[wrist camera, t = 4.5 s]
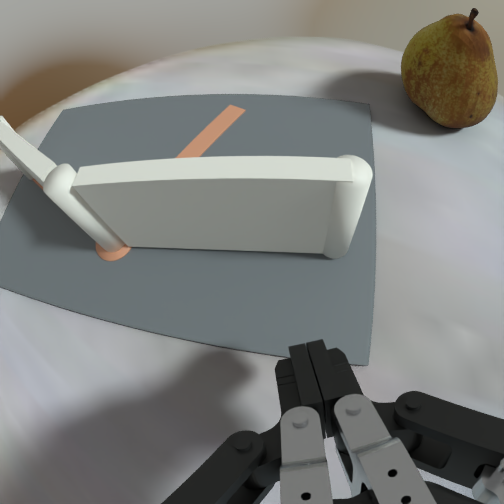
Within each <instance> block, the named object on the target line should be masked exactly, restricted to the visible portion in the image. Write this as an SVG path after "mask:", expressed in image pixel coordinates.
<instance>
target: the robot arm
mask: <svg viewBox="0 0 504 504" xmlns="http://www.w3.org/2000/svg"><path fill="white" fill-rule="evenodd" d="M288 348H289V354H290V358H288V359H283V360H278V363H277V365H276V367H275V374H276V380H277V386H278V393H279V400H280V406H281V418H280V420H279V422H278V423H277V425H275V426H274V427H273V428H272V429H270V430H268V431H266V432H263V433H261V434H258V433H256V432H253V431H239V432H236V433H234V434H232V435H231V436H230V437H229V438H227V440H226V441H225V442H224V443H223V444H222V445H221V446H220V447H219V448H218V449H217V450H216V451H215V452H214V453H213V454H212V455H211V456H210V457H209V458H208V459H207V460H206V461H205V462H204V463H203V464H202V465H201V466H200V467H199V468H198V469H197V470H196V471H195V472H194V473H193V474H192V475H191V476H190V477H189V478H188V479H187V480H186V481H185V482H184V483H183V484H182V485H181V486H180V487H179V488H178V489H177V490H176V491H174V492H173V493H172V494H171V495H170V496H169V497H168V498H167V499H166V500H165V501H164V502H163V503H161V504H260V502H261V501H262V500H263V499H264V498H265V496H266V495H267V494H268V493H269V491H270V490H271V489H272V488H273V486H274V484H275V482H277V481H280V494H281V504H504V419H501V418H497V417H494V416H491V415H487V414H484V413H481V412H478V411H475V410H472V409H469V408H466V407H463V406H460V405H457V404H454V403H451V402H448V401H445V400H442V399H439V398H436V397H433V396H430V395H428V394H425V393H422V392H418V391H410V392H406V393H404V394H402V395H401V396H399V397H398V398H397V400H396V402H391V403H378V402H373V401H371V400H370V399H369V398H367V397H366V396H364V395H363V393H362V391H361V388H360V386H359V384H358V382H357V379H356V377H355V375H354V373H353V371H352V369H351V366H350V364H349V362H348V360H347V357H346V355H345V353H343V352H342V351H341V350H340V349H338V348H337V347H336V348H332V349H328V350H327V349H326V346H325V343H324V341H323V339H320V340H316V341H311V342H307V343H306V345H305V343H302V344H298V345H293V346H288ZM325 431H326V434H327V438H329V437H333V436H334V440H335V443H336V453H337V455H338V458H339V460H340V463H341V466H342V468H343V471H344V473H345V476H346V478H347V481H348V483H349V486H350V490H351V495H352V498H349V499H332V493H331V485H330V478H329V471H328V465H327V460H326V456H325V449H324V439H325V438H326V434H325ZM416 467H417V468H419V469H422V470H424V471H426V472H429V473H431V474H434V475H436V476H439V477H441V478H444V479H446V480H449V481H452V482H454V483H457V484H460V485H462V486H465V487H468V488H471V489H472V494H473V497H474V498H475V500H474V499H472V498H469V497H467V496H464V495H462V494H459V493H457V492H455V491H452V490H450V489H448V488H445V487H443V486H441V485H438V484H436V483H433V482H429V481H424V480H423V478H422V476H421V475H420V473H419V471H418V469H417V468H416Z"/></svg>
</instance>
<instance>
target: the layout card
mask: <svg viewBox="0 0 504 504" xmlns="http://www.w3.org/2000/svg"><path fill="white" fill-rule="evenodd" d="M38 150H39V151H40V152H41V153H43V154H44V155H45V156H46V157H48V158H49V159H50V160H52V161H53V162H54V163H55V164H56V165H57V166H58V165H61V164H65V163H66V164H69V165H70V166H71V167H72V168H73V169H74V170H75V172H76V173H78V171H79V168H80V167H83V166H92V165H101V164H110V163H120V162H131V161H143V160H157V159H172V158H191V157H219V156H301V157H328V158H337V157H339V156H343V155H354V156H357V157H360V158H362V159H363V160H365V161H366V162H367V163H368V164H369V166H370V167H371V169H372V173H373V176H372V180H371V183H370V187H369V190H368V193H367V196H366V199H365V202H364V205H363V208H362V211H361V214H360V217H359V220H358V223H357V226H356V229H355V232H354V235H353V237H352V240H351V243H350V246H349V249H348V251H347V253H346V254H345V255H344V256H343V257H341V258H337V259H332V258H329V257H326V256H325V255H324V254H322V253H295V252H267V251H240V250H212V249H184V248H156V247H128V246H127V245H126V244H125V245H124V246H123V247H122V248H121V249H120V250H118V251H116V252H113V253H111V252H107V251H106V250H105V249H103V248H102V247H101V246H100V245H99V244H98V243H97V242H96V241H95V240H94V239H92V238H91V237H90V236H89V235H88V234H87V233H86V232H85V231H84V230H83V229H82V228H81V227H79V226H78V225H77V224H76V223H75V222H74V221H73V220H72V219H71V218H70V217H69V216H68V215H67V214H66V213H65V212H64V211H63V210H62V209H61V208H60V207H59V206H58V205H57V204H56V203H54V202H53V201H52V200H51V199H50V198H49V197H48V196H47V195H46V194H45V192H44V191H43V186H41V185H40V184H39V183H38V182H37V181H36V180H35V179H32V180H29V179H28V178H27V177H26V176H25V175H24V174H23V176H22V178H21V180H20V182H19V184H18V186H17V188H16V190H15V192H14V194H13V196H12V198H11V200H10V202H9V204H8V206H7V208H6V210H5V213H4V215H3V217H2V219H1V221H0V287H2V288H4V289H7V290H10V291H13V292H15V293H18V294H21V295H24V296H27V297H30V298H33V299H36V300H39V301H42V302H45V303H48V304H51V305H54V306H57V307H61V308H64V309H67V310H70V311H74V312H77V313H80V314H84V315H87V316H91V317H94V318H98V319H102V320H105V321H109V322H113V323H116V324H120V325H124V326H128V327H132V328H136V329H140V330H144V331H149V332H153V333H157V334H161V335H166V336H170V337H175V338H180V339H184V340H189V341H194V342H199V343H204V344H209V345H214V346H220V347H225V348H231V349H236V350H242V351H248V352H254V353H261V354H267V355H274V356H281V357H288V358H290V354H289V348H288V346H293V345H298V344H302V343H305V345H306V343H307V342H311V341H316V340H320V339H323V341H324V343H325V346H326V349H327V350H328V349H332V348H336V347H337V348H338V349H340V350H341V351H342V352H343V353H345V355H346V357H347V360H348V362H349V364H350V365H361V366H368V363H369V354H370V345H371V334H372V322H373V308H374V291H375V268H376V192H375V168H374V151H373V138H372V126H371V116H370V106H369V104H364V103H357V102H350V101H341V100H332V99H323V98H312V97H299V96H282V95H257V94H208V95H183V96H166V97H154V98H143V99H133V100H124V101H116V102H109V103H102V104H95V105H89V106H83V107H77V108H71V109H66V110H63V111H62V112H61V114H60V115H59V117H58V118H57V120H56V121H55V123H54V124H53V126H52V127H51V129H50V130H49V132H48V133H47V135H46V137H45V138H44V140H43V141H42V143H41V145H40V146H39V148H38Z"/></svg>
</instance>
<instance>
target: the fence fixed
mask: <svg viewBox="0 0 504 504" xmlns="http://www.w3.org/2000/svg"><path fill="white" fill-rule="evenodd" d="M0 149H1V150H2V151H3V152H4V153H5V154H6V155H7V156H8V158H9V159H10V160H11V161H12V162H13V163H14V164H15V165H16V166H17V167H18V168H19V169H20V170H21V171H22V172H23V174H24V175H25V176H26V177H27V178H28V179H29V180H32V179H35V180H36V181H37V182H38V183H39V184H40V185H41V186H43V191H44V192H45V194H46V195H47V196H48V197H49V198H50V199H51V200H52V201H53V202H54V203H56V204H57V205H58V206H59V207H60V208H61V209H62V210H63V211H64V212H65V213H66V214H67V215H68V216H69V217H70V218H71V219H72V220H73V221H74V222H75V223H76V224H77V225H78V226H79V227H81V228H82V229H83V230H84V231H85V232H86V233H87V234H88V235H89V236H90V237H91V238H92V239H94V240H95V241H96V242H97V243H98V244H99V245H100V246H101V247H102V248H103V249H105V250H106V251H107V252H111V253H113V252H116V251H118V250H120V249H121V248H122V247H123V246H124V245H125V243H124V242H123V240H122V239H121V238H120V237H119V236H118V235H117V234H116V233H115V232H114V231H113V230H112V229H111V228H110V227H109V226H108V225H107V224H106V223H105V222H104V221H103V220H102V219H101V217H100V216H99V215H98V214H97V213H96V212H95V211H94V210H93V209H92V208H91V207H90V206H89V204H88V203H87V202H86V201H85V200H84V199H83V198H82V197H81V196H80V195H79V193H78V192H77V191H76V190H75V189H74V188H73V187H72V185H73V182H74V180H75V178H76V175H77V173H76V172H75V170H74V169H73V168H72V167H71V166H70V165H69V164H66V163H65V164H61V165H58V166H57V165H56V164H55V163H54V162H53V161H52V160H50V159H49V158H48V157H46V156H45V155H44V154H43V153H41V152H40V151H39V150H37V149H36V148H35V147H33V146H32V145H31V144H30V143H28V142H27V141H26V140H24V139H23V138H22V137H21V136H19V135H18V134H17V133H16V132H15V131H14V130H13V129H12V128H11V126H10V125H9V124H8V123H7V121H6V120H5V119H4V118H3V117H2V116H0Z"/></svg>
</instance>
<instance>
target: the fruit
mask: <svg viewBox="0 0 504 504" xmlns="http://www.w3.org/2000/svg"><path fill="white" fill-rule="evenodd" d="M477 15H478V10H477V9H475V8H473V9H472V10H471V13H470V16H469V17H467V16H464V15H462V14H454V15H449V16H446V17H444V18H443V19H441V20H439V21H437V22H435V23H432V24H430V25H428V26H426V27H424V28H423V29H421V30H420V31H419V32H418V33H416V34H415V35H414V36H413V38H412V39H411V40H410V42H409V44H408V45H407V47H406V49H405V51H404V54H403V56H402V62H401V75H402V81H403V84H404V88H405V91H406V93H407V95H408V96H409V98H410V99H411V101H412V102H413V103H414V104H416V105H417V106H418V107H420V108H421V109H422V110H424V111H425V112H426V113H427V115H428V116H429V117H430V118H431V119H433V120H434V121H436V122H437V123H439V124H440V125H442V126H445V127H449V128H465V127H471V126H474V125H476V124H478V123H480V122H481V121H483V120H484V119H485V118H486V117H487V115H488V114H489V113H490V111H491V110H492V108H493V106H494V104H495V101H496V97H497V85H498V78H497V71H496V66H495V61H494V55H493V49H492V44H491V41H490V38H489V36H488V34H487V32H486V31H485V30H484V28H483V27H482V26H481V25H480V24H479V23H478V22H476V21H475V20H474V18H475V17H476V16H477Z"/></svg>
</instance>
